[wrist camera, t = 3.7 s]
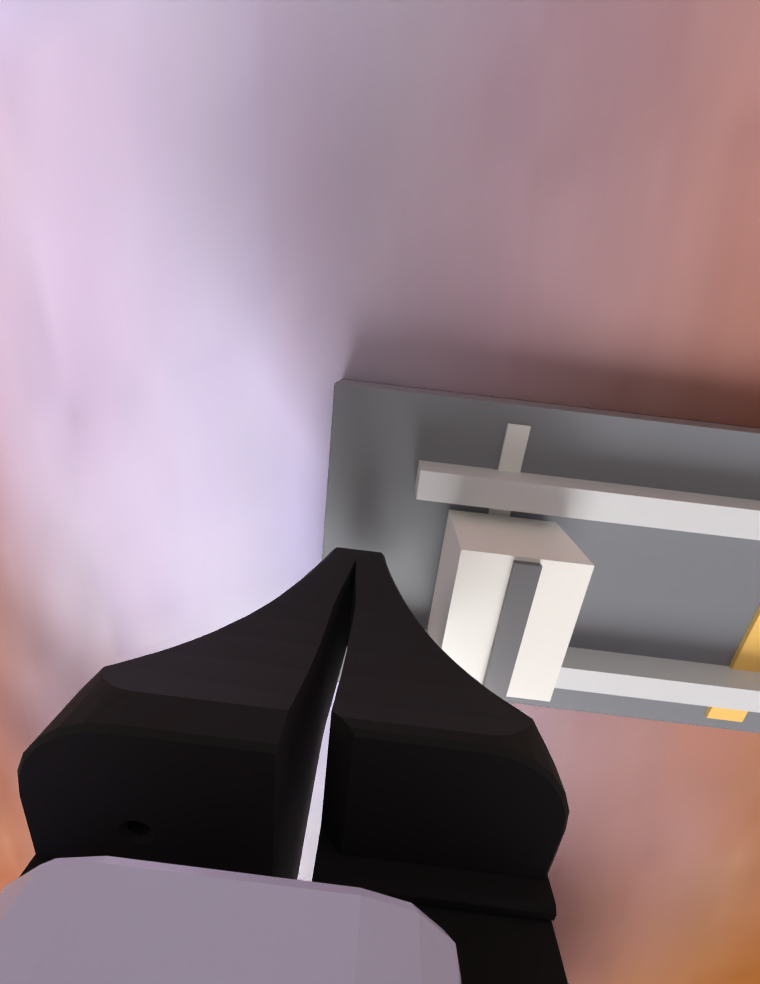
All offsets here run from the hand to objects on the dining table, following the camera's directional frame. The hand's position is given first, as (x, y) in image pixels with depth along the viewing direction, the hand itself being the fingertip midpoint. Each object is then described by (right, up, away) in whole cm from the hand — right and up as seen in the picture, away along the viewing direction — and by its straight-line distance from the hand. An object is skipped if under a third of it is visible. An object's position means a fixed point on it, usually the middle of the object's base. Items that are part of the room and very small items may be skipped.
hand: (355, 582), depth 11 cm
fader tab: (+4, 0, +1) cm, 4 cm away
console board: (+8, 0, +3) cm, 8 cm away
